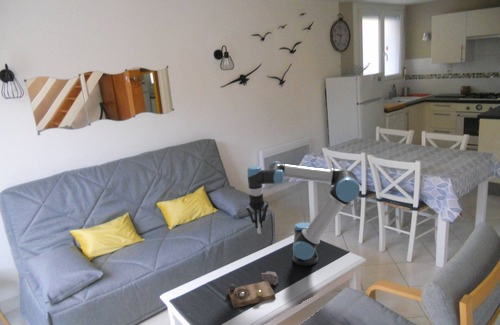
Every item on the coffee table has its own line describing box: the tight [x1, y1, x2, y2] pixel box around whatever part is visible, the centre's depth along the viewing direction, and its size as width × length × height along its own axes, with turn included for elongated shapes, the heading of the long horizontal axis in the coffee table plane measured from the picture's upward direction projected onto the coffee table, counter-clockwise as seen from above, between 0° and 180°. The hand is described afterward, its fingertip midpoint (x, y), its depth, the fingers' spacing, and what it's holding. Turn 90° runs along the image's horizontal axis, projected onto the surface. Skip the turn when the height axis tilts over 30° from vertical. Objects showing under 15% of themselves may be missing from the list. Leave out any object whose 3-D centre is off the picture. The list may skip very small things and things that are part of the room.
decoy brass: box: [256, 290, 263, 297], centre depth 194 cm, size 4×4×4 cm
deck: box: [228, 281, 276, 309], centre depth 199 cm, size 22×13×2 cm, turn 104°
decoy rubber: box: [228, 283, 237, 291], centre depth 201 cm, size 4×4×4 cm
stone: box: [260, 271, 279, 286], centre depth 210 cm, size 10×8×6 cm
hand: (259, 232), depth 215 cm, fingers closed
